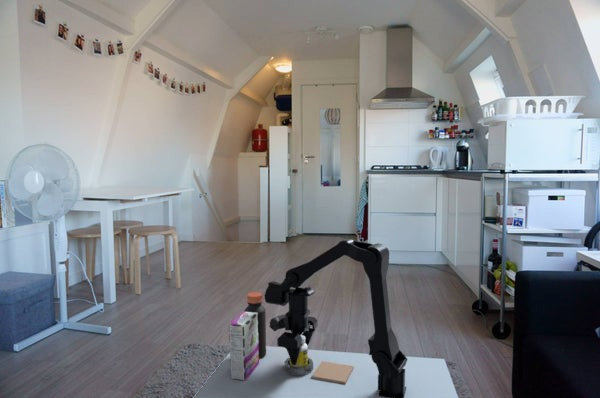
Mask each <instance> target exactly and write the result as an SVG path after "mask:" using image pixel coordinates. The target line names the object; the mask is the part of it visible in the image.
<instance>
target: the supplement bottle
mask: <svg viewBox="0 0 600 398" xmlns="http://www.w3.org/2000/svg"><path fill="white" fill-rule="evenodd" d="M301 337H302V342H301V344H303V345H302V348H301V351H300V354H299V357H298V360H297V363H296V365H292V363H291V360H290V366H292V367H297V368H298V367H305V366H307V365H308V358H309V355H308V354H309V353H308V350H309V349H308V348H309V345H308V346H307V344H306V343H305V336H303V335H301Z"/></svg>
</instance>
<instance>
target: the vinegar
mask: <svg viewBox="0 0 600 398" xmlns="http://www.w3.org/2000/svg"><path fill="white" fill-rule="evenodd" d="M246 301H247V303H246V304H247V306H246V307H245V308H244V312H256V313H258V339H259V360H260V359H263V358H264V357H265V356H266V354H267V329H266V328H267V327H266V319H267V318H266V315H267V314H266V308H265V307H264V306H263V305H262V304H263V294H262V292H256V291H255V292H249V293H247V295H246Z"/></svg>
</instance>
